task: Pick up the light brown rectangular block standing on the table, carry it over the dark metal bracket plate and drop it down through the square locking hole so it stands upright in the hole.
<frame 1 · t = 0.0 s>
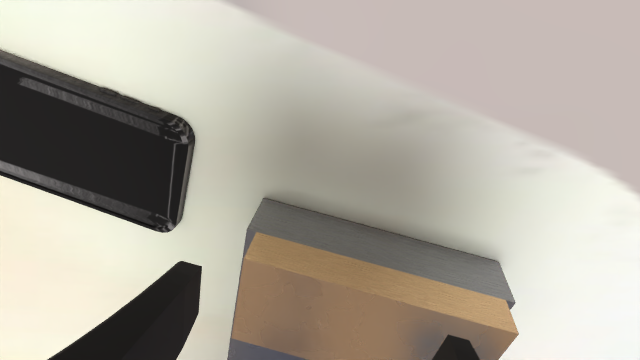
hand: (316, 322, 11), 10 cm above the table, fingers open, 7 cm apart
bracket plate: (341, 327, 26), on the table
phone: (71, 132, 21), on the table
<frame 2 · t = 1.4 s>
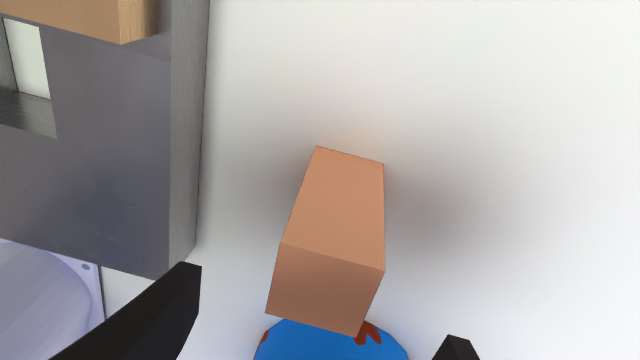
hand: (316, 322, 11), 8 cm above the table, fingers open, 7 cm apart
bracket plate: (54, 57, 16), on the table
light brown rectangular block: (340, 183, 18), on the table
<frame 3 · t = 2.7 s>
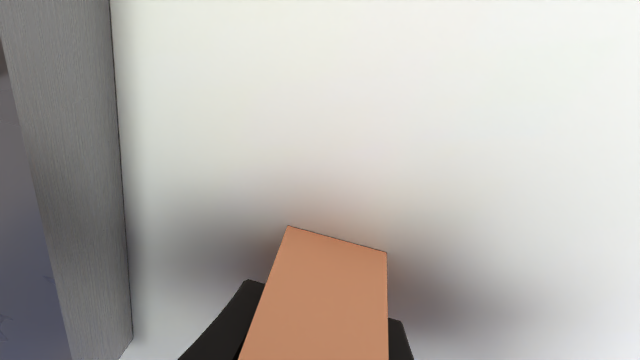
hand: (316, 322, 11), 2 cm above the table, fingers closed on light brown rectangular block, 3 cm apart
light brown rectangular block: (325, 274, 12), on the table, touching gripper
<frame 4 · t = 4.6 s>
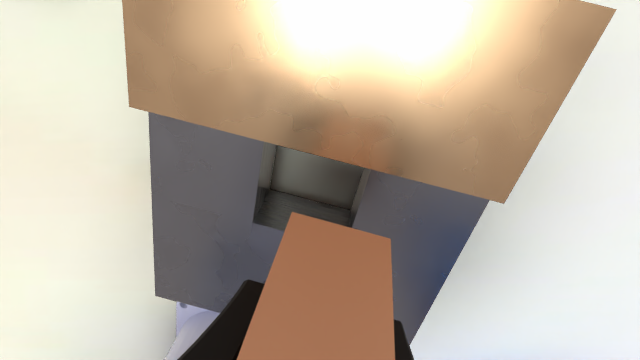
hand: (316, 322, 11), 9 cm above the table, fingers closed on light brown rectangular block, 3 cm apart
bracket plate: (318, 163, 18), on the table
light brown rectangular block: (329, 261, 12), point 7 cm above the table, touching gripper
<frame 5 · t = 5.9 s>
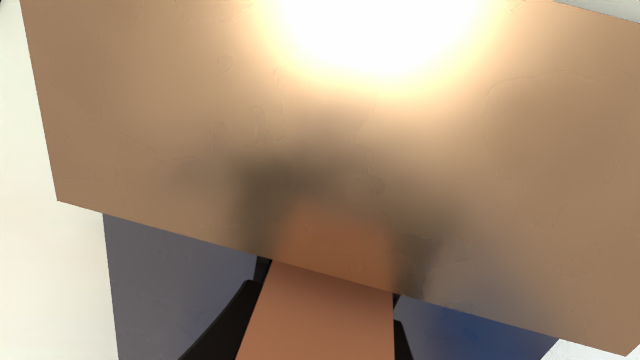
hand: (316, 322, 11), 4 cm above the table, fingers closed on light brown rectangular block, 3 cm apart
bracket plate: (332, 237, 14), on the table
light brown rectangular block: (329, 261, 12), point 2 cm above the table, touching gripper
when the fingers open (4 cm above the table, at t = 6.7 s): light brown rectangular block drops 2 cm, resting in bracket plate.
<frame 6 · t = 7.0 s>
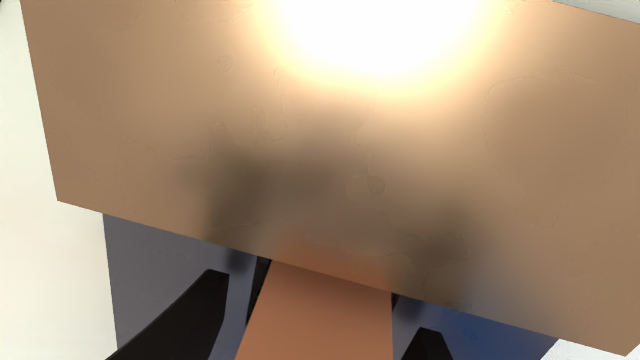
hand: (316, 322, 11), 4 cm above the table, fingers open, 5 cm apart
bracket plate: (332, 237, 14), on the table
light brown rectangular block: (333, 229, 14), resting in bracket plate
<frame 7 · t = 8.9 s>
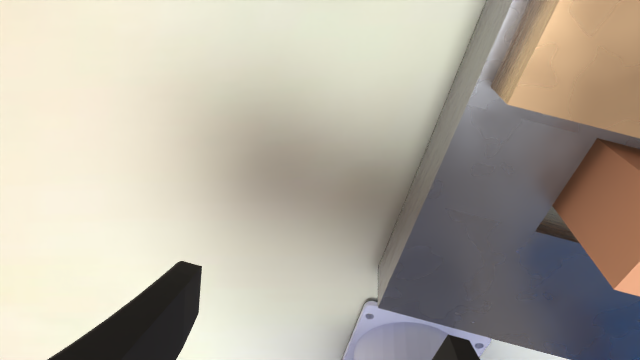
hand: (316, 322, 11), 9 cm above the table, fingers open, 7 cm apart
bracket plate: (582, 167, 17), on the table
light brown rectangular block: (585, 160, 17), resting in bracket plate
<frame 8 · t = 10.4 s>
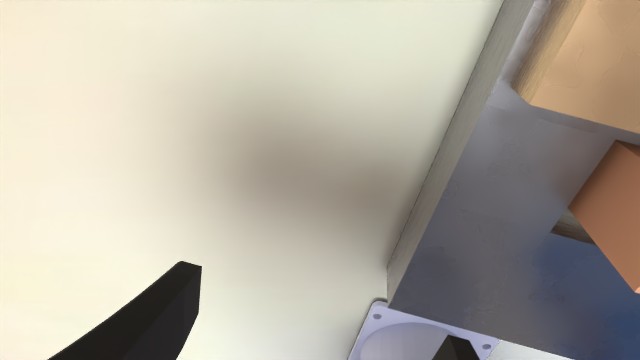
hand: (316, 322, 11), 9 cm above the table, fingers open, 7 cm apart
bracket plate: (596, 168, 17), on the table
light brown rectangular block: (599, 161, 17), resting in bracket plate
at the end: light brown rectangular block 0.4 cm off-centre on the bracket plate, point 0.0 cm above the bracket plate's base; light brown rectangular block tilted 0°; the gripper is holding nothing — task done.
